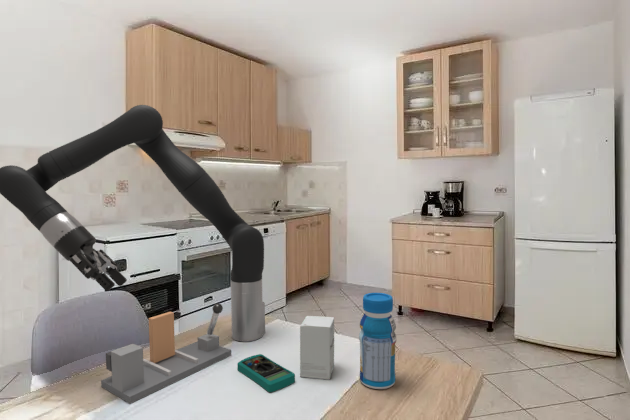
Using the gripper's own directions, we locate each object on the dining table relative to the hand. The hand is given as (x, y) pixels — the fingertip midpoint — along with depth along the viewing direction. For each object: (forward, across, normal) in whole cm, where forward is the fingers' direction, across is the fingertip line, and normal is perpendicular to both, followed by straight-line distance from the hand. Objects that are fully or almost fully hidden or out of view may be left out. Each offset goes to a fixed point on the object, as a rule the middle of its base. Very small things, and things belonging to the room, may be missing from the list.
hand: (117, 285), depth 93 cm
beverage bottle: (+57, -10, -28) cm, 65 cm away
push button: (+14, -2, +12) cm, 18 cm away
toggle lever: (+25, +11, -4) cm, 27 cm away
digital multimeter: (+40, -3, -10) cm, 41 cm away
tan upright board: (+20, +6, +6) cm, 22 cm away
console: (+24, +4, +6) cm, 25 cm away
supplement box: (+48, -3, -19) cm, 52 cm away
